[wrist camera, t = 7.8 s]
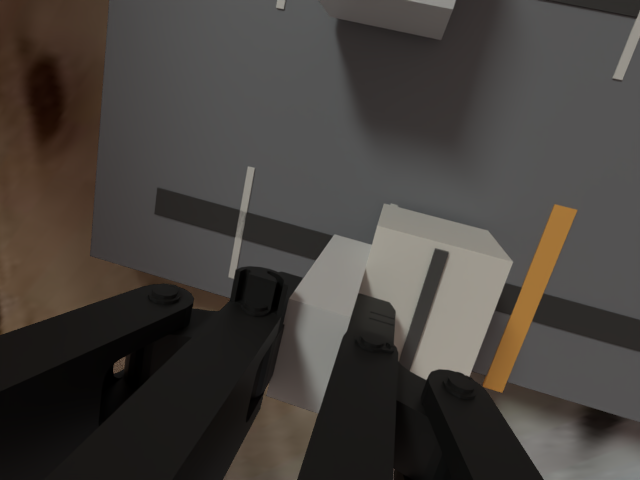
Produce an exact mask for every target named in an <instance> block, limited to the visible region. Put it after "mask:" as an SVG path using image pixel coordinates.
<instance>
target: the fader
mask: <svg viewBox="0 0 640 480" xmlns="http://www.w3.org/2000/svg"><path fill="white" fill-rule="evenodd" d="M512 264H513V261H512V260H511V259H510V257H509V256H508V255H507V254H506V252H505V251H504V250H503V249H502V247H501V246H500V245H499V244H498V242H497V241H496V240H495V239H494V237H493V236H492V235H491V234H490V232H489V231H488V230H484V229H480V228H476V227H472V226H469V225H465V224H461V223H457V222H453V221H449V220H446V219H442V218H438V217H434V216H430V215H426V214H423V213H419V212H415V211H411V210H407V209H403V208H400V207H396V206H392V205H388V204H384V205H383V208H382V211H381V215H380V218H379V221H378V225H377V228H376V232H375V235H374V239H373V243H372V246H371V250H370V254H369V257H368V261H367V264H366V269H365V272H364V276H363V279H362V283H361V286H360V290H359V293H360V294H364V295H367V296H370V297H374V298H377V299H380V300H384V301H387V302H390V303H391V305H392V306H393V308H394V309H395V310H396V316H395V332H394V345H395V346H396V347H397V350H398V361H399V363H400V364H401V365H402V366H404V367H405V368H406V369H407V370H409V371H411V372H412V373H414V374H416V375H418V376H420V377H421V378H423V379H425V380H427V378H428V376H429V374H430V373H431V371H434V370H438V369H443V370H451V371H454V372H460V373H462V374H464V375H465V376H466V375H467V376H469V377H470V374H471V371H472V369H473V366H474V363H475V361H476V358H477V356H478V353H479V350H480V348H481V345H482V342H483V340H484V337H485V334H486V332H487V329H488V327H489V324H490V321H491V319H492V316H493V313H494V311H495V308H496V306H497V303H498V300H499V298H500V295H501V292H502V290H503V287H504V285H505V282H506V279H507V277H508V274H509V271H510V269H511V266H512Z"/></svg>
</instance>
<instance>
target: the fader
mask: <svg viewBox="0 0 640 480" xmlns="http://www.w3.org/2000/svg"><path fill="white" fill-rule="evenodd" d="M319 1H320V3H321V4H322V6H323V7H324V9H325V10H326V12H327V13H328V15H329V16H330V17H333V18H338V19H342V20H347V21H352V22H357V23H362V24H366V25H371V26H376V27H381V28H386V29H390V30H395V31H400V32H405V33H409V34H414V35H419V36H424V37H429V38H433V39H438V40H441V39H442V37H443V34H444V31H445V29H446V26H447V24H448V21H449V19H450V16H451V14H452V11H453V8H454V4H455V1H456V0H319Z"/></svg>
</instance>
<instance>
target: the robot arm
mask: <svg viewBox="0 0 640 480" xmlns="http://www.w3.org/2000/svg"><path fill="white" fill-rule="evenodd" d="M371 246H372V245H371V244H367V243H364V242H360V241H357V240H353V239H350V238H346V237H342V236H339V235H335V234H334V236H333V237H332V239H331V240H330V241H329V243H328V244H327V246H326V247H325V248H324V250H323V251H322V253H321V254H320V256H319V257H318V258H317V260H316V261H315V263H314V264H313V265H312V267H311V268H310V270H309V271H308V272H307V274H306V275H305V277H304V278H302V277H299V276H296V275H292V274H289V273H285V272H282V271H281V272H277V271H274V270H271V269H268V268H263V267H255V266H247V267H241V268H239V269H236V270H235V276H234V281H233V286H232V291H231V297H230V301H229V302H228V303H227V304H226V305H225V306H224V307H223V308H222V309H221V310H220V311H207V310H200V309H193V308H192V307H193V301H194V298H193V296H192V294H191V293H190V292H188V291H187V290H185V289H183V288H180V287H177V286H176V285H171V284H170V285H169V284H153V285H148V286H143V287H140V288H137V289H134V290H131V291H128V292H126V293H123V294H120V295H117V296H114V297H111V298H108V299H105V300H102V301H99V302H96V303H93V304H90V305H87V306H84V307H82V308H79V309H76V310H73V311H70V312H67V313H64V314H61V315H58V316H55V317H52V318H49V319H46V320H43V321H40V322H38V323H35V324H32V325H29V326H26V327H23V328H20V329H17V330H14V331H11V332H8V333H5V334H2V335H0V480H223V478H224V476H225V474H226V473H227V471H228V469H229V467H230V465H231V463H232V461H233V459H234V457H235V455H236V454H237V452H238V450H239V448H240V446H241V444H242V442H243V440H244V438H245V436H246V435H247V433H248V431H249V429H250V427H251V425H252V423H253V421H254V419H255V417H256V416H257V414H258V412H259V410H260V407H261V403H262V399H263V394H264V391H265V389H266V387H267V385H268V383H269V387H268V391H267V395H266V396H268V397H271V398H274V399H277V400H280V401H283V402H285V403H288V404H291V405H294V406H297V407H300V408H303V409H306V410H309V411H312V412H315V413H318V416H317V419H316V423H315V426H314V429H313V432H312V435H311V438H310V441H309V445H308V448H307V451H306V454H305V457H304V460H303V463H302V467H301V470H300V473H299V476H298V479H297V480H393V468H394V469H395V471H394V480H544V479H543V478H542V476H541V475H540V473H539V471H538V470H537V468H536V467H535V465H534V464H533V462H532V461H531V459H530V457H529V456H528V454H527V453H526V451H525V450H524V448H523V447H522V445H521V444H520V442H519V440H518V439H517V437H516V436H515V434H514V433H513V431H512V430H511V428H510V426H509V425H508V423H507V422H506V420H505V419H504V417H503V416H502V414H501V412H500V411H499V409H498V408H497V406H496V405H495V403H494V402H493V400H492V398H491V397H490V395H489V394H488V393H487V392H486V390H485V389H484V388H483V387H482V386H481V385H480V384H478V383H477V382H475V381H474V380H473V379H472V378H471V377H469V376H467V375H466V376H465V375H464V374H462V373H460V372H454V371H451V370H443V369H438V370H434V371H431V373H430V374H429V376H428V378H427V380H425V379H423V378H421V377H420V376H418V375H416V374H414V373H412V372H411V371H409V370H407V369H406V368H405V367H404V366H402V365H401V364H400V363H399V361H398V350H397V347H396V346H395V345H394V332H395V316H396V310H395V309H394V308H393V306H392V305H391V303H390V302H387V301H384V300H380V299H377V298H374V297H370V296H367V295H364V294H360V293H359V290H360V286H361V283H362V279H363V276H364V272H365V269H366V264H367V261H368V257H369V254H370V250H371ZM125 356H126V360H125V368H124V370H122V371H120V372H118V373H115V374H113V366H114V363H115V362H117V361H118V360H119V359H121V358H123V357H125ZM269 381H270V382H269Z"/></svg>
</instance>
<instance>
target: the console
mask: <svg viewBox="0 0 640 480" xmlns="http://www.w3.org/2000/svg"><path fill="white" fill-rule="evenodd" d="M384 204H388V205H392V206H396V207H400V208H403V209H407V210H411V211H415V212H419V213H423V214H426V215H430V216H434V217H438V218H442V219H446V220H449V221H453V222H457V223H461V224H465V225H469V226H472V227H476V228H480V229H484V230H488V231H489V232H490V234H491V235H492V236H493V237H494V239H495V240H496V241H497V242H498V244H499V245H500V246H501V247H502V249H503V250H504V251H505V252H506V254H507V255H508V256H509V257H510V259H511V260H512V261H513V264H512V266H511V269H510V271H509V274H508V277H507V279H506V282H505V285H504V287H503V290H502V292H501V295H500V298H499V300H498V303H497V306H496V308H495V311H494V313H493V316H492V319H491V321H490V324H489V327H488V329H487V332H486V334H485V337H484V340H483V342H482V345H481V348H480V350H479V353H478V356H477V358H476V361H475V363H474V366H473V369H472V372H476V373H479V374H482V375H485V376H486V377H485V380H484V382H483V387H485V388H488V389H491V390H495V391H498V392H501V393H502V392H503V390H504V388H505V385H506V383H507V382H509V383H512V384H515V385H519V386H522V387H525V388H528V389H532V390H535V391H538V392H542V393H545V394H548V395H552V396H555V397H558V398H562V399H565V400H568V401H571V402H575V403H578V404H581V405H585V406H588V407H591V408H595V409H598V410H601V411H604V412H608V413H611V414H614V415H618V416H621V417H624V418H628V419H631V420H634V421H638V422H640V0H456V1H455V4H454V8H453V11H452V14H451V16H450V19H449V21H448V24H447V26H446V29H445V31H444V34H443V37H442V39H441V40H438V39H433V38H429V37H424V36H419V35H414V34H409V33H405V32H400V31H395V30H390V29H386V28H381V27H376V26H371V25H366V24H362V23H357V22H352V21H347V20H342V19H338V18H333V17H330V16H329V15H328V13H327V12H326V10H325V9H324V7H323V6H322V4H321V3H320V1H319V0H109V11H108V24H107V37H106V51H105V64H104V78H103V91H102V104H101V118H100V131H99V145H98V158H97V171H96V185H95V198H94V212H93V225H92V238H91V252H90V256H92V257H95V258H99V259H102V260H105V261H109V262H112V263H115V264H119V265H122V266H125V267H128V268H132V269H135V270H138V271H142V272H145V273H148V274H152V275H155V276H158V277H162V278H165V279H168V280H171V281H175V282H178V283H181V284H185V285H188V286H191V287H195V288H198V289H201V290H205V291H208V292H211V293H214V294H218V295H221V296H224V297H228V298H230V297H231V291H232V286H233V281H234V276H235V270H236V269H239V268H241V267H247V266H255V267H263V268H268V269H271V270H274V271H277V272H281V271H282V272H285V273H289V274H292V275H296V276H299V277H302V278H304V277H305V275H306V274H307V272H308V271H309V270H310V268H311V267H312V265H313V264H314V263H315V261H316V260H317V258H318V257H319V256H320V254H321V253H322V251H323V250H324V248H325V247H326V246H327V244H328V243H329V241H330V240H331V239H332V237H333V236H334V234H335V235H339V236H342V237H346V238H350V239H353V240H357V241H360V242H364V243H367V244H371V245H372V243H373V239H374V235H375V232H376V228H377V225H378V221H379V218H380V215H381V211H382V208H383V205H384Z"/></svg>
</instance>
